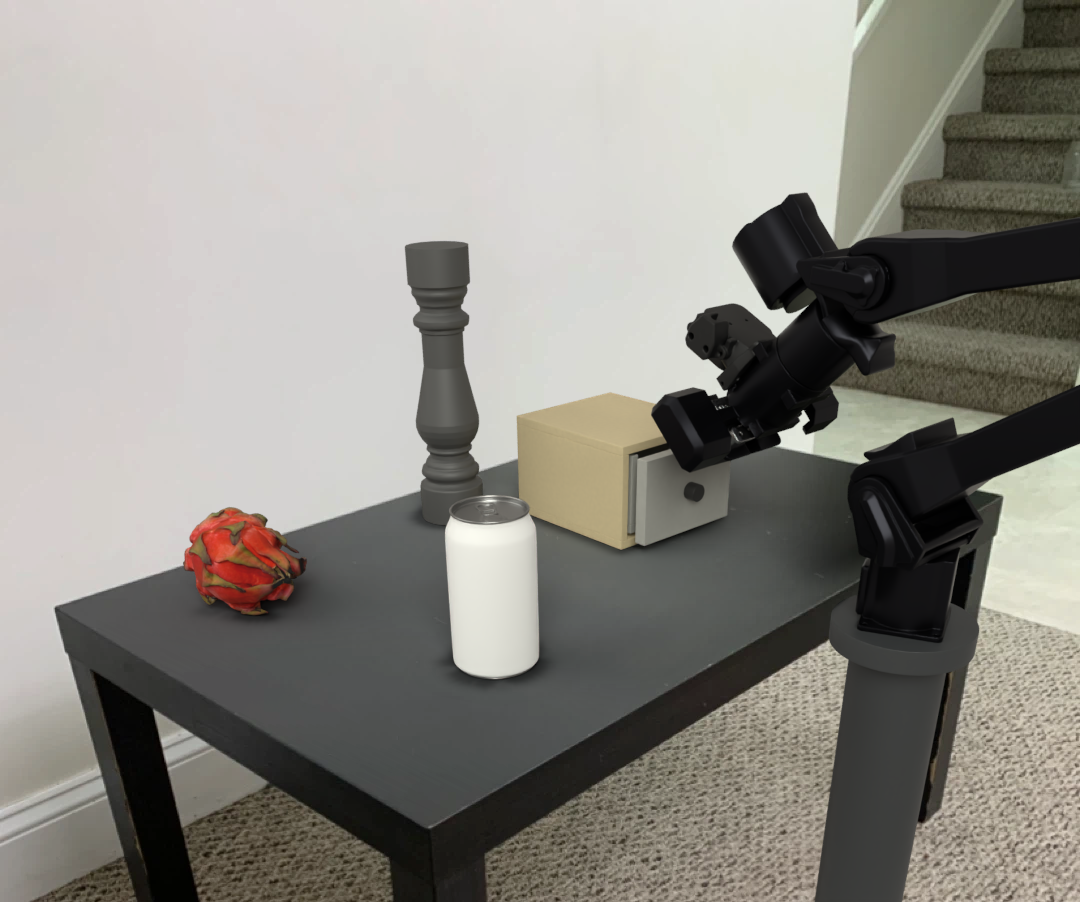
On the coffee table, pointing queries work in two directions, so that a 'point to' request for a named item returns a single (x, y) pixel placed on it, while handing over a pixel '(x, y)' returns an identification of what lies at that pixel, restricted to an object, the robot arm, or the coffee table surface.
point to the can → (493, 586)
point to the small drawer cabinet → (584, 463)
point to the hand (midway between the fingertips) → (692, 465)
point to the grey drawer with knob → (672, 495)
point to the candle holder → (443, 376)
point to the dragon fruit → (241, 561)
